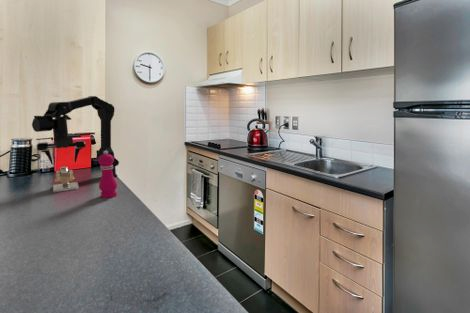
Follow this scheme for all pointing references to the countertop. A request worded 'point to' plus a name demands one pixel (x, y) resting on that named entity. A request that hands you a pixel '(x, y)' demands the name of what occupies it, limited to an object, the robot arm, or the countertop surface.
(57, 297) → the countertop surface
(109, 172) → the pepper mill
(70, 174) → the collar
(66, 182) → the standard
